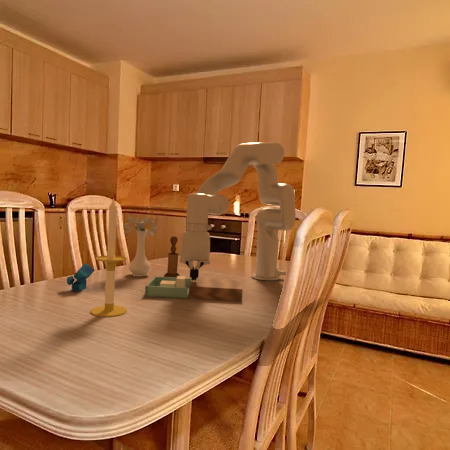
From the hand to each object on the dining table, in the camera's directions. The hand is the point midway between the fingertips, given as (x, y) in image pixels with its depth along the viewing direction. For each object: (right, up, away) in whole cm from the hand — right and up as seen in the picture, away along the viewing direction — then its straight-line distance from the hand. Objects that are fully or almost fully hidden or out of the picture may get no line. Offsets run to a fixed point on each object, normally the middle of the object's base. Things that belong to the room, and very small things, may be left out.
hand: (193, 279), depth 130 cm
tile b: (-9, -1, -1) cm, 9 cm away
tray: (-9, -4, 0) cm, 10 cm away
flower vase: (-26, -2, +26) cm, 36 cm away
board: (+8, -5, 0) cm, 9 cm away
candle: (-22, -5, -26) cm, 34 cm away
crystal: (-39, -3, -3) cm, 39 cm away
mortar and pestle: (-11, -3, +18) cm, 21 cm away
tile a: (-3, -2, 0) cm, 4 cm away
